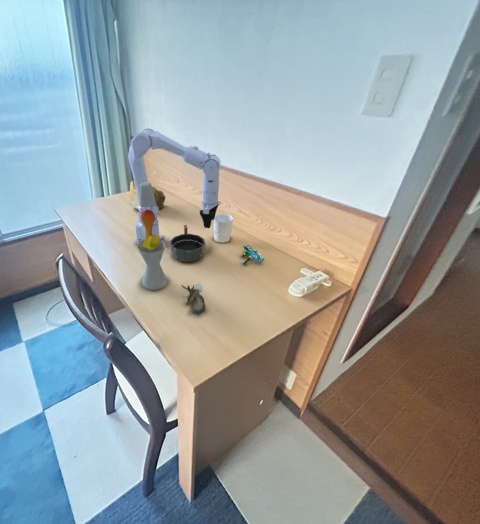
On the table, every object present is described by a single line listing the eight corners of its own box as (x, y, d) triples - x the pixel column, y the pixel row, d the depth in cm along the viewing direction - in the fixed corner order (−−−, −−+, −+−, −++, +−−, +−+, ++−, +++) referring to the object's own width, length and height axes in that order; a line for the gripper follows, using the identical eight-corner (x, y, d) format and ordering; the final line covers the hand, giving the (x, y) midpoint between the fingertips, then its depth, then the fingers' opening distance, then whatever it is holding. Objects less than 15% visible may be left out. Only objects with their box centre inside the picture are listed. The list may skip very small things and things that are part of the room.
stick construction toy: (268, 261, 102) (257, 246, 99) (255, 274, 102) (243, 260, 99) (252, 253, 113) (241, 239, 110) (239, 265, 113) (228, 252, 111)
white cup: (230, 244, 118) (232, 222, 112) (211, 242, 119) (212, 221, 114) (231, 235, 124) (233, 214, 118) (213, 233, 126) (214, 213, 120)
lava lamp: (136, 283, 98) (122, 184, 78) (154, 271, 103) (145, 176, 84) (155, 293, 93) (145, 191, 73) (173, 280, 98) (168, 181, 79)
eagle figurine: (175, 295, 90) (181, 310, 82) (185, 276, 88) (193, 290, 80) (194, 303, 93) (202, 318, 85) (205, 285, 91) (214, 299, 83)
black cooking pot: (207, 261, 106) (207, 243, 102) (171, 263, 106) (170, 246, 101) (201, 240, 119) (201, 223, 115) (169, 242, 119) (168, 225, 115)
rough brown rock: (174, 213, 147) (175, 185, 139) (145, 219, 139) (144, 189, 132) (154, 201, 164) (153, 175, 157) (127, 205, 157) (125, 178, 149)
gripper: (217, 198, 98) (215, 233, 105) (224, 184, 109) (222, 217, 116) (197, 196, 99) (197, 230, 107) (207, 183, 111) (206, 215, 118)
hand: (209, 223), depth 112 cm, fingers open, 7 cm apart
